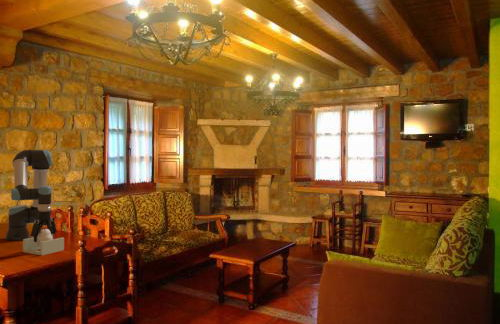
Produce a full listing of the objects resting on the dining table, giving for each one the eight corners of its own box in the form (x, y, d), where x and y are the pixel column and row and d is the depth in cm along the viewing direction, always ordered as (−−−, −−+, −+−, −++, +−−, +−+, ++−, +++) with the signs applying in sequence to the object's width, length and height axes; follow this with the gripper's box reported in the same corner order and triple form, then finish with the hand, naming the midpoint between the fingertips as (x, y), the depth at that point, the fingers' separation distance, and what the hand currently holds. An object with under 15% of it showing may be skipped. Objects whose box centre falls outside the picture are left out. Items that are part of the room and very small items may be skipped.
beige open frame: (22, 252, 256) (23, 239, 256) (45, 246, 271) (45, 235, 271) (42, 255, 249) (42, 242, 249) (64, 250, 265) (64, 237, 264)
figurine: (54, 245, 267) (55, 227, 266) (50, 249, 257) (50, 230, 257) (38, 245, 265) (38, 227, 265) (33, 249, 255) (33, 230, 255)
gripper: (32, 213, 248) (32, 249, 249) (63, 209, 269) (62, 242, 269) (24, 212, 251) (23, 248, 252) (55, 208, 272) (54, 241, 272)
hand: (43, 245), depth 260 cm, fingers closed on figurine, 10 cm apart
